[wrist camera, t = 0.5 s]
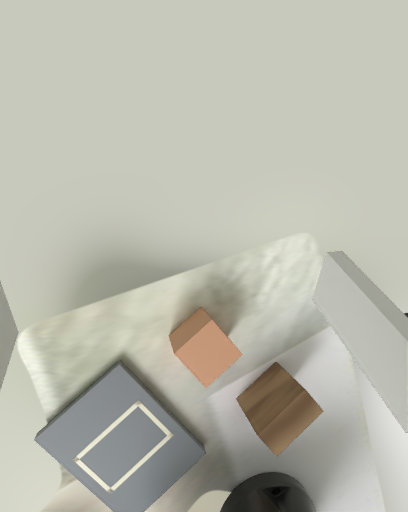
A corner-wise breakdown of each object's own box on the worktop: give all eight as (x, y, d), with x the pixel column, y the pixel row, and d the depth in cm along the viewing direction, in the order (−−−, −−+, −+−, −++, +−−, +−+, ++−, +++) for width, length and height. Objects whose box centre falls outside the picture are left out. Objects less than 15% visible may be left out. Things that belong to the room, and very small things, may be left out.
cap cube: (227, 336, 49) (242, 354, 42) (196, 365, 48) (206, 388, 42) (201, 306, 48) (211, 319, 41) (168, 335, 47) (174, 353, 40)
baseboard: (203, 446, 50) (205, 453, 48) (129, 516, 48) (129, 526, 47) (119, 360, 46) (119, 364, 45) (37, 432, 45) (33, 440, 43)
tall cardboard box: (291, 379, 52) (323, 411, 43) (252, 417, 51) (276, 456, 42) (276, 361, 51) (305, 389, 42) (236, 398, 50) (257, 435, 41)
